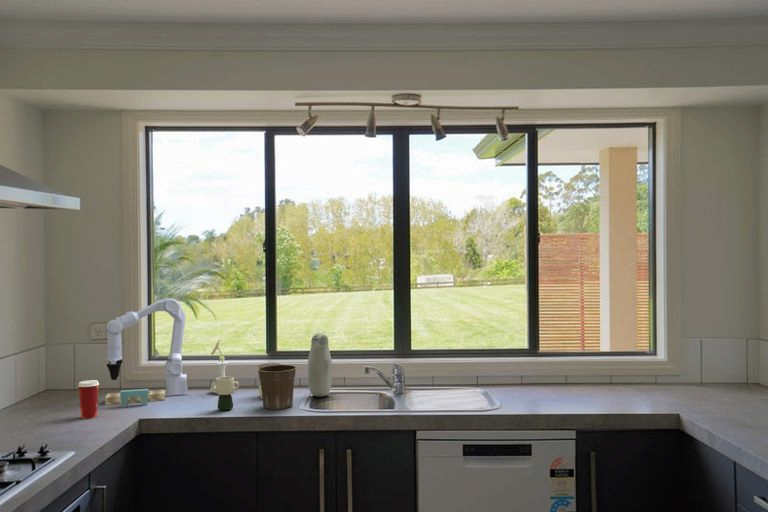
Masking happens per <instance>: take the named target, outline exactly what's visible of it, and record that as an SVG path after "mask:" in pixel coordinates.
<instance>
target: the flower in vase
mask: <svg viewBox="0 0 768 512" xmlns="http://www.w3.org/2000/svg"><path fill="white" fill-rule="evenodd" d="M220 343H221V339H218V340H217V342H216V344H215V346H214V348H213V349H212V351H211V356H213V355H214V354H215V353H216V351H217V350H218V351H219V353H220V355H219V360H218V362H216V364H217V366H218V368H219V377H226V367H227V365H228V364H229V362H228V361H224V360H225V359H226V357H224V355H223V354H222V352H221V349H220V347H219V345H220ZM235 387H236V385H234V388H235ZM214 389H216V385H214ZM209 391H210V392H212V393H214V394H217V392H216V391H212V390H211V387H210V389H209Z"/></svg>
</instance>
